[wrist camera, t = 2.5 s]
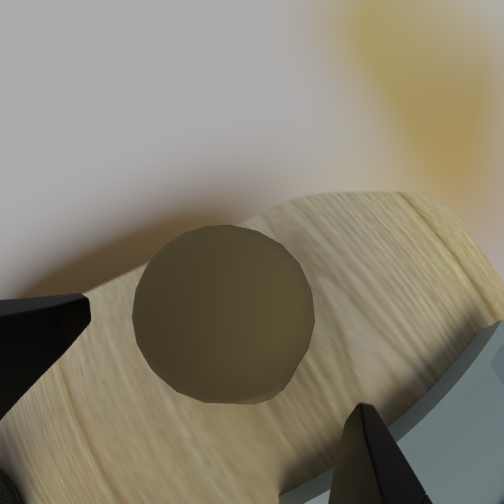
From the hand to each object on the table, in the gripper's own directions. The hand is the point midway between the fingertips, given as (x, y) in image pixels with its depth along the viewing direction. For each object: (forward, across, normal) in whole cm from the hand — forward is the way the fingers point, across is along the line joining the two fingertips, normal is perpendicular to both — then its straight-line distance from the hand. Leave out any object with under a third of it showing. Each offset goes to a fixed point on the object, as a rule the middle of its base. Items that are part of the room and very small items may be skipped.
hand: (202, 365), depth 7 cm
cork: (+8, 0, +6) cm, 9 cm away
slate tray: (+2, -18, +10) cm, 21 cm away
